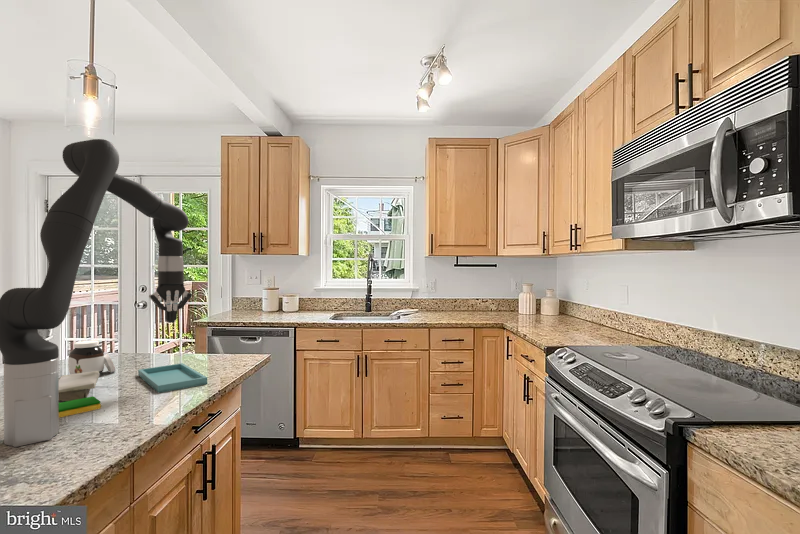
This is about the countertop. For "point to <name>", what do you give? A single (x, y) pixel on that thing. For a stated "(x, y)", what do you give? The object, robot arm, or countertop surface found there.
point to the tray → (172, 377)
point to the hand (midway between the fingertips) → (171, 322)
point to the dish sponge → (78, 406)
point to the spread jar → (88, 358)
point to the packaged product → (77, 385)
